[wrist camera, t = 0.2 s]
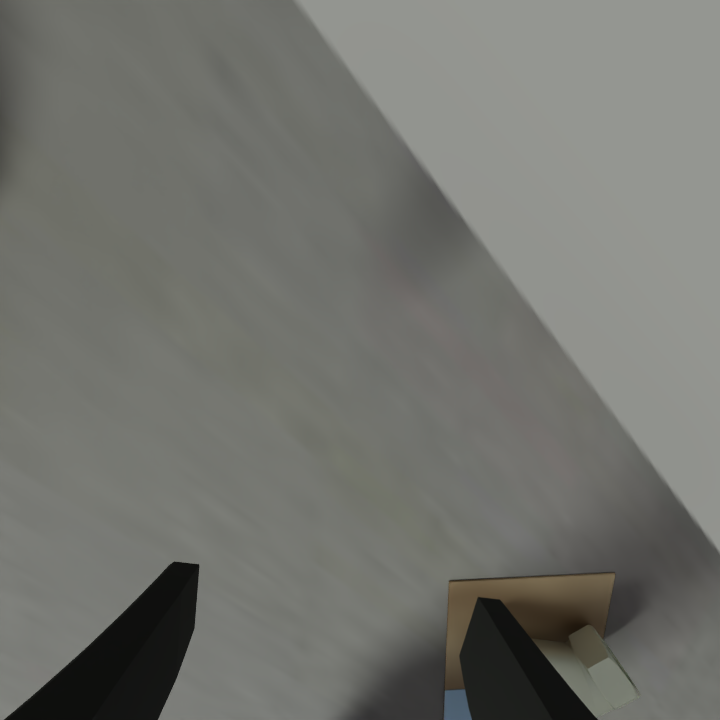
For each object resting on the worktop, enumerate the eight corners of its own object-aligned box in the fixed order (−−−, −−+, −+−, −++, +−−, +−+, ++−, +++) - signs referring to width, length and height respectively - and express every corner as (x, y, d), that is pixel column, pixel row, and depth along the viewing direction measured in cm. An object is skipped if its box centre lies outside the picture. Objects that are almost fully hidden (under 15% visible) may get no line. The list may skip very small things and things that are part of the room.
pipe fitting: (443, 637, 23) (502, 705, 24) (458, 705, 20) (527, 783, 20) (551, 571, 22) (608, 645, 23) (589, 630, 18) (655, 716, 19)
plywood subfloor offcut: (572, 789, 27) (574, 794, 27) (439, 798, 27) (440, 802, 27) (612, 571, 22) (615, 574, 22) (448, 579, 22) (449, 582, 22)
